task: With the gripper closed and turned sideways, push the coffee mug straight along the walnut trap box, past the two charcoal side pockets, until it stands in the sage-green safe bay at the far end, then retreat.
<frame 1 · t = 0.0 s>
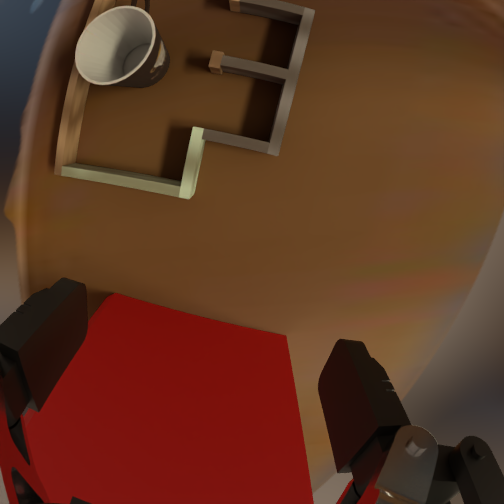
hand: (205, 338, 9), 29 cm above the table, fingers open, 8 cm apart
coffee mug: (153, 55, 30), resting in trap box
book: (190, 335, 44), on the table
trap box: (149, 65, 30), on the table
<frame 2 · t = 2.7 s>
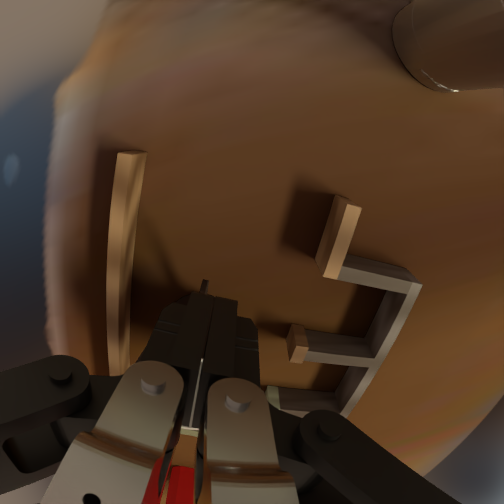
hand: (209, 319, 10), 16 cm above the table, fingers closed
coffee mug: (210, 310, 29), resting in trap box
book: (245, 484, 43), on the table
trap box: (207, 324, 29), on the table
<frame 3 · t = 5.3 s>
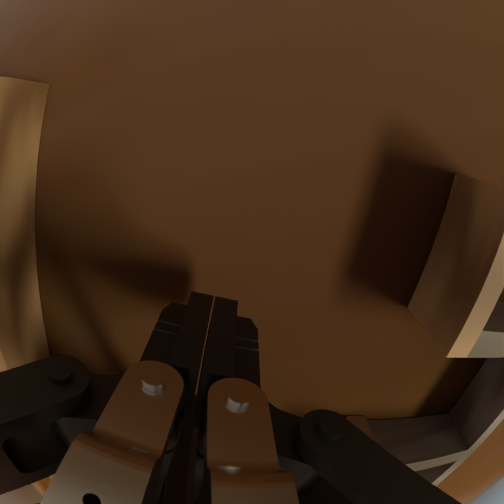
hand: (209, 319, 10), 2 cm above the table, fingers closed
coffee mug: (194, 414, 14), resting in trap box, touching gripper
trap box: (191, 422, 14), on the table
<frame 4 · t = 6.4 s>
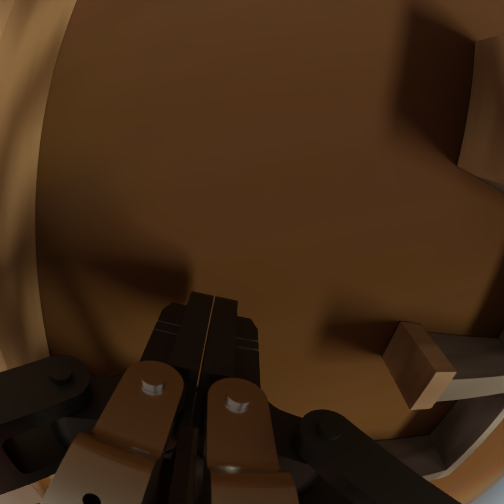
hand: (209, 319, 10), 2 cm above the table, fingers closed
coffee mug: (194, 409, 13), resting in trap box, touching gripper
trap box: (207, 332, 12), on the table
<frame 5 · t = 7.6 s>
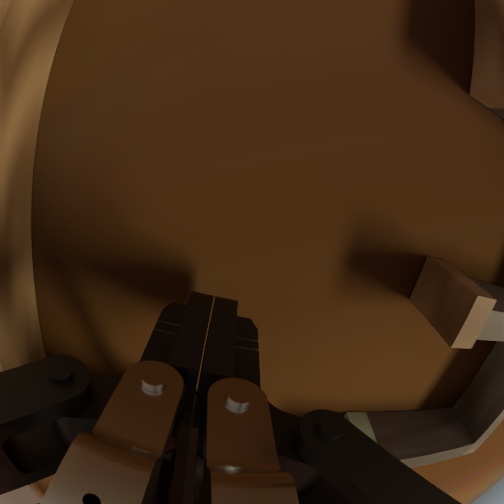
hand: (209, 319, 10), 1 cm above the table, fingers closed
coffee mug: (191, 411, 13), resting in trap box, touching gripper
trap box: (217, 260, 11), on the table
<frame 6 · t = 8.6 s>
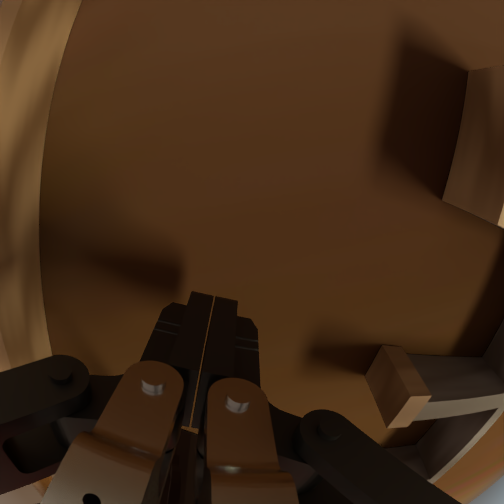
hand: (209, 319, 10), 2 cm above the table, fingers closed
coffee mug: (187, 444, 16), resting in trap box
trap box: (201, 353, 13), on the table
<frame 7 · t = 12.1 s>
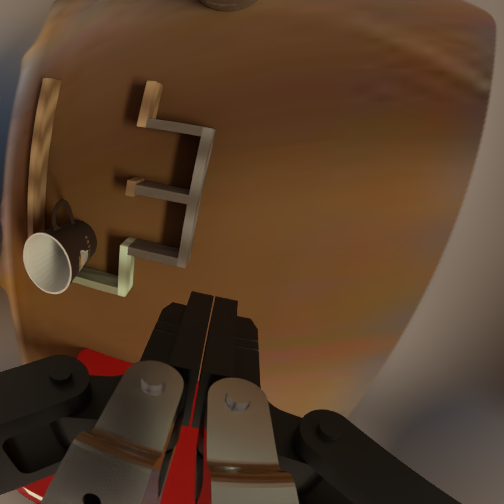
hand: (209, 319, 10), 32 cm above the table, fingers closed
coffee mug: (84, 232, 42), resting in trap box
book: (144, 380, 53), on the table
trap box: (86, 181, 39), on the table
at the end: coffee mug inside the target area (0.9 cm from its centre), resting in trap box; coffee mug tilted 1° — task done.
